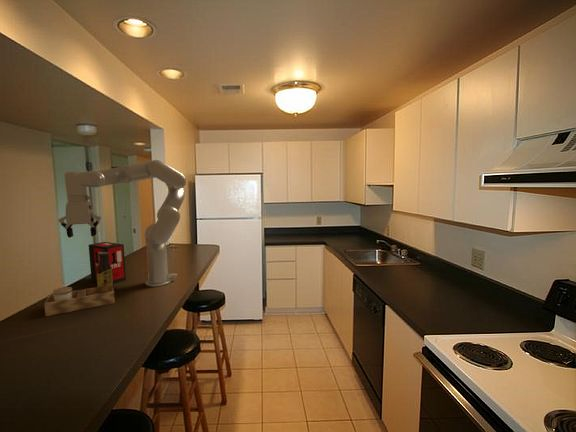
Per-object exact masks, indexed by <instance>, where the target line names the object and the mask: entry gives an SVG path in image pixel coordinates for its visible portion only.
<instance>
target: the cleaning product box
mask: <svg viewBox="0 0 576 432" xmlns="http://www.w3.org/2000/svg"><path fill="white" fill-rule="evenodd" d="M124 247H125V245H124V244H123V243H116V242H109V241H102V242H97V243H91V244H88V254H89V255H88V257H89V267H90V281H92V282H96V283H97V266H98V265H99V263H100V262H99V253H102V252H108V253H109V256H108V260H109V263H110V266H111V268H112V280H113V285H115V284H118V283H122V282H124V281H127V276H126V274H127V273H126V264H125V263H126V260H125V248H124Z"/></svg>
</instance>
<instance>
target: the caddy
mask: <svg viewBox="0 0 576 432" xmlns="http://www.w3.org/2000/svg"><path fill="white" fill-rule="evenodd" d="M113 285H114V284H113ZM113 285H107V286H101V287H98V286H96V287H91V288H84V289H79V290H72V299H67V300H61V301H55V302H54V294H53V293H52V294H49V295H47V297H46V299H45V302H44V314H45V317H50V316H54V315H55V316H56V315H59V314H64V313H70V312H75V311H80V310H85V309H90V308H97V307H102V306H105V305H106V306H107V305H111V304H116V302H115V301H116V299H115V290H114V286H113Z"/></svg>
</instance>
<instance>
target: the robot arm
mask: <svg viewBox="0 0 576 432" xmlns="http://www.w3.org/2000/svg"><path fill="white" fill-rule="evenodd" d="M155 178H156V179H158V180H159V181H161V182H162V183H165V186H166V188H167V189H168V191H167V196H166V197H165V200H164V201H163V203H162V204H161V206H160V207H159V209H158V210H157V212H156V218H157V221H156V222H155V223H151V224H150V225H148V226H147V227H146V229H145V233H144V237H145V246H146V247H145V248H146V260H147V276H148V280H147V279H146V281H145V282H144V283H145V285H146V286H148V287H162V286H165V285H168V284H170V283H172V278H177V277H178V273H169V271H168V256H167V254H168V253H167V252H168V251H167V250H168V249H167V243H168V241H169V240H170V238H171V236H172V235H173V233H174V231H175V230H176V228H177V227H178V224H179V222H180V219H181V213H180V208H181V206H182V204H183V202H184V200H185V196H186V193H185V192H186V191H185V186H186V184H187V178H186V176H185V175H184V173H181V172H180V171H179V170H176V168H173V167H172V166H170V165H168V164H167V163H165V162H164V161H161V160H157V159H155V160H149V161H143V162H137V163H130V164H129V163H128V164H124V165H121V166H118V167H114V168H108V169H102V170H91V171H84V172H83V171H67V172H65V173H64V182H65V183H64V186H65V191H66V198H67V202H66V204H65V215H64V216H62V217H60V218H59V219H58V220H57V221H58V222H59V223H60V224H61V226H62V227H63V228H64V229H65V231H66V235H67V237H68V238H72V237H73V238H74V231H73V228H72V227H73V226H75V225H89V226H90V230H89V231H90V236H91V237H95V236H96V235H97V226H98V225H99V224H100V221H101V220H102V217H101V216H99V215H97V214H95V213H94V210H93V209H94V208H93V207H92V204H91V201H89V200H91V199H92V197H91V196H89V195H88V191H87V188H100V187H104V186H109V185H110V186H111V185H116V184H127V183H133V182H137V181H143V180H144V181H145V180H151V179H155ZM95 219H96V220H95ZM65 221H66V222H65Z"/></svg>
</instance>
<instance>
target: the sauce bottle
mask: <svg viewBox="0 0 576 432" xmlns="http://www.w3.org/2000/svg"><path fill="white" fill-rule="evenodd" d="M108 256H109V253H108V252H102V253H99V262H100V263H99V265H98V266H97V282H96V284H97V286H96V287H101V286H107V285H114V284H113V280H112V268H111V266H110V263H109V260H108Z"/></svg>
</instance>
